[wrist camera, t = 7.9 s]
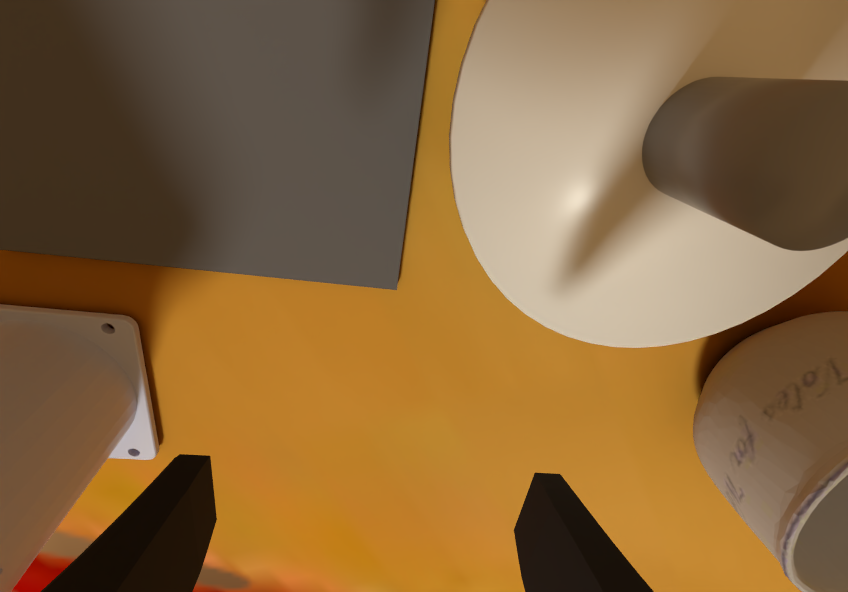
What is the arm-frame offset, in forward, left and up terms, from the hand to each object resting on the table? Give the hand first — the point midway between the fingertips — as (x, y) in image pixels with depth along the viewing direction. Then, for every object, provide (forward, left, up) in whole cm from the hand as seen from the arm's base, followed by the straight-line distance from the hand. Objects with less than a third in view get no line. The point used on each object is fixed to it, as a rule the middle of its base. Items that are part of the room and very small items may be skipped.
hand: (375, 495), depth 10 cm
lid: (+8, +8, -5) cm, 12 cm away
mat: (-7, +8, -10) cm, 15 cm away
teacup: (+20, -4, -10) cm, 23 cm away
